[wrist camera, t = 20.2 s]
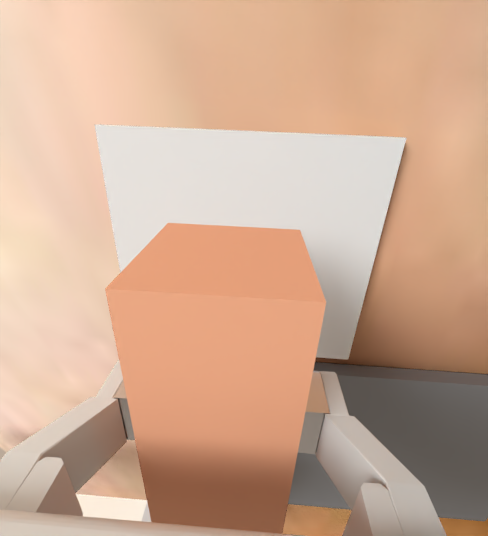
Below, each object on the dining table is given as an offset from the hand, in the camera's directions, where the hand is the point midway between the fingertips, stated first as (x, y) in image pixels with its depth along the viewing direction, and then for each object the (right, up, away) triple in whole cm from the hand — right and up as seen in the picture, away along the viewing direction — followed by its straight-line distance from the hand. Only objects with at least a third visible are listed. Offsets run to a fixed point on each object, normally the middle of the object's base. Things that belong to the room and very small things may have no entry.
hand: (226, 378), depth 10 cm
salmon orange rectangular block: (0, +1, +1) cm, 1 cm away
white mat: (+1, +4, +7) cm, 8 cm away
